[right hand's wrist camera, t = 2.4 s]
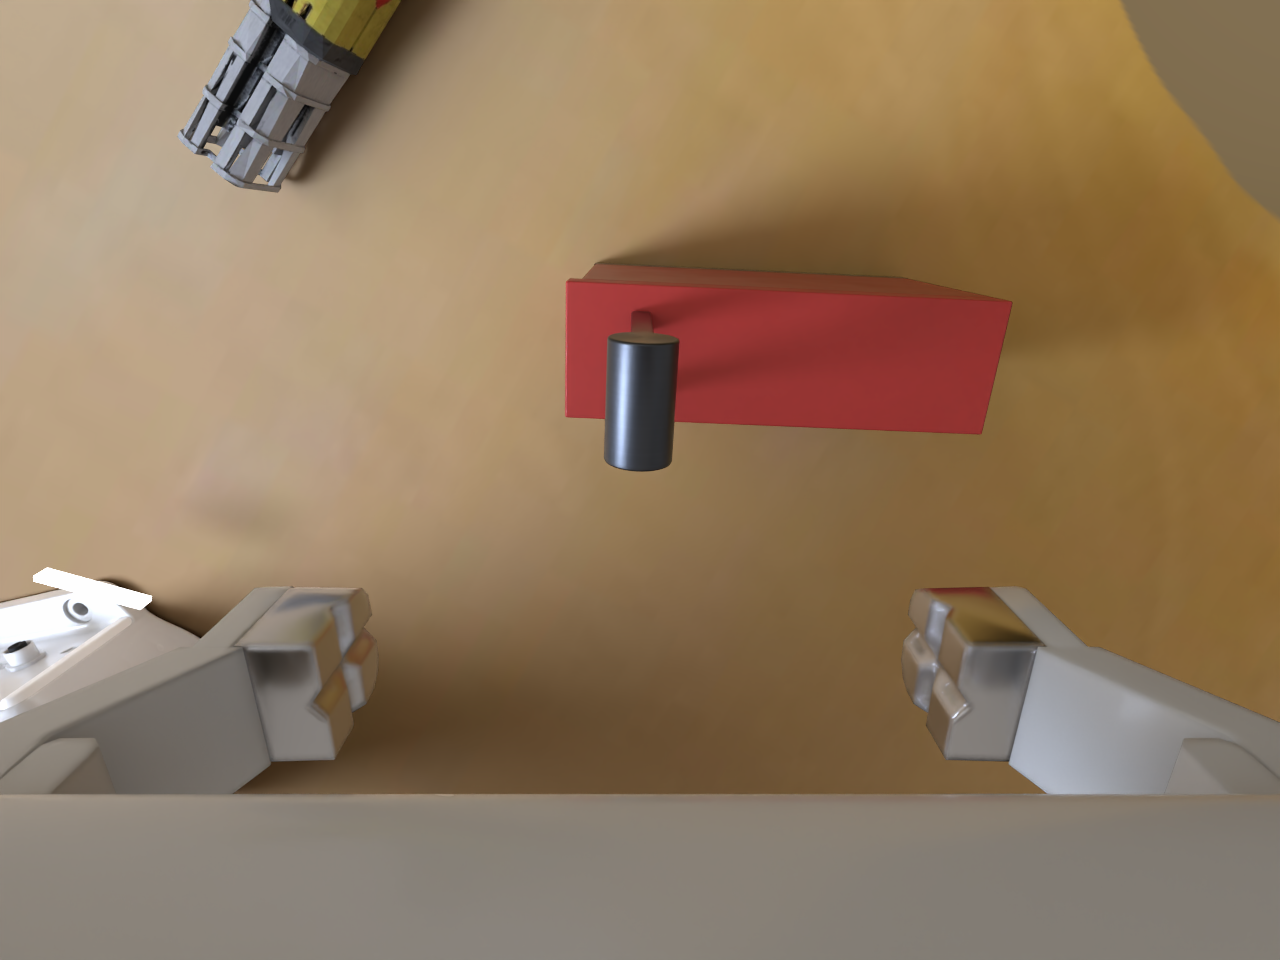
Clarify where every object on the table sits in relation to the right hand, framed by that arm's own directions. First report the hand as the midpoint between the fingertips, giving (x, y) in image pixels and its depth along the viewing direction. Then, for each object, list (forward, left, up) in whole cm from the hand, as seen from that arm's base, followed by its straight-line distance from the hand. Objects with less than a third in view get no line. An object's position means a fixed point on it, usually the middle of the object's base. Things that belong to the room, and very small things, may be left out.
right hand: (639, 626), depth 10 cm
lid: (+5, +1, -18) cm, 19 cm away
